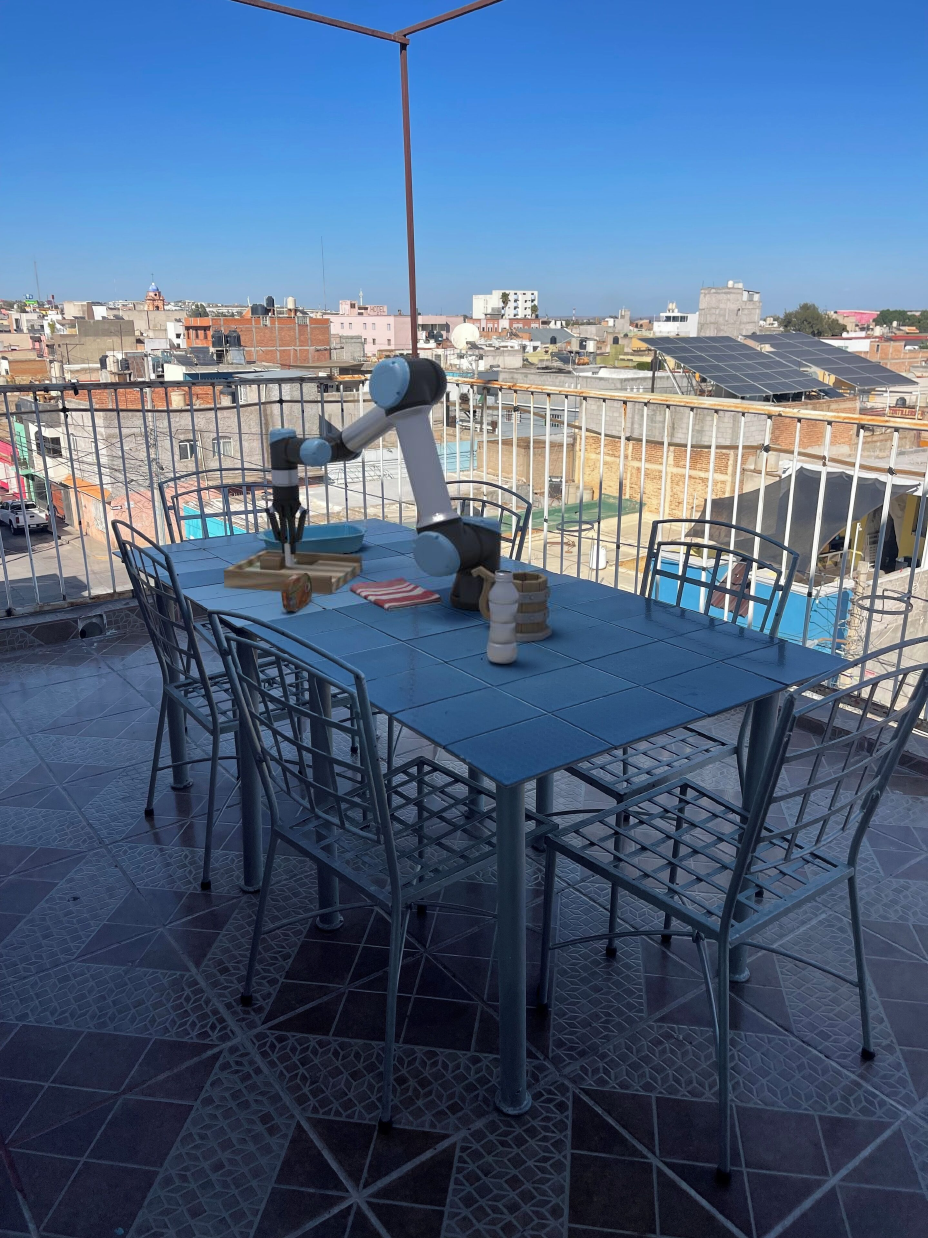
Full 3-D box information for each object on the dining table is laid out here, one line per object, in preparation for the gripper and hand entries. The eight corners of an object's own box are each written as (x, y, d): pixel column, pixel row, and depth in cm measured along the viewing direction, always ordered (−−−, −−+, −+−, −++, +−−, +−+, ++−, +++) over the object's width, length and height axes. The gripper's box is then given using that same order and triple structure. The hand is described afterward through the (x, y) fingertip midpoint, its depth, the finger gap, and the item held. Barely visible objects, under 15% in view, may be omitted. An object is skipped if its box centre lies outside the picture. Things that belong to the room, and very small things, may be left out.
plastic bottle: (498, 654, 187) (500, 566, 181) (523, 661, 183) (526, 571, 177) (480, 662, 182) (481, 571, 177) (505, 669, 178) (507, 577, 172)
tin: (291, 615, 214) (290, 583, 212) (280, 615, 215) (278, 582, 212) (313, 600, 228) (312, 569, 226) (302, 599, 229) (301, 568, 226)
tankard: (558, 630, 204) (560, 570, 200) (534, 645, 194) (537, 581, 189) (485, 617, 214) (486, 559, 209) (459, 631, 203) (460, 570, 199)
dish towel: (402, 584, 246) (402, 575, 245) (443, 604, 227) (443, 594, 226) (349, 592, 238) (348, 583, 237) (387, 613, 219) (387, 603, 218)
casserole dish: (264, 563, 269) (263, 541, 267) (252, 549, 289) (251, 528, 286) (376, 554, 283) (375, 533, 280) (357, 541, 302) (357, 521, 300)
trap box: (330, 594, 233) (329, 576, 232) (224, 587, 240) (223, 570, 238) (362, 571, 259) (361, 555, 257) (265, 565, 265) (264, 549, 263)
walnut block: (279, 570, 246) (278, 559, 245) (260, 569, 247) (259, 557, 246) (287, 566, 252) (287, 554, 251) (269, 564, 253) (268, 553, 252)
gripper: (312, 483, 243) (315, 563, 250) (269, 481, 246) (274, 561, 253) (301, 486, 236) (306, 569, 243) (258, 485, 239) (263, 566, 246)
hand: (289, 564), depth 248 cm, fingers closed
